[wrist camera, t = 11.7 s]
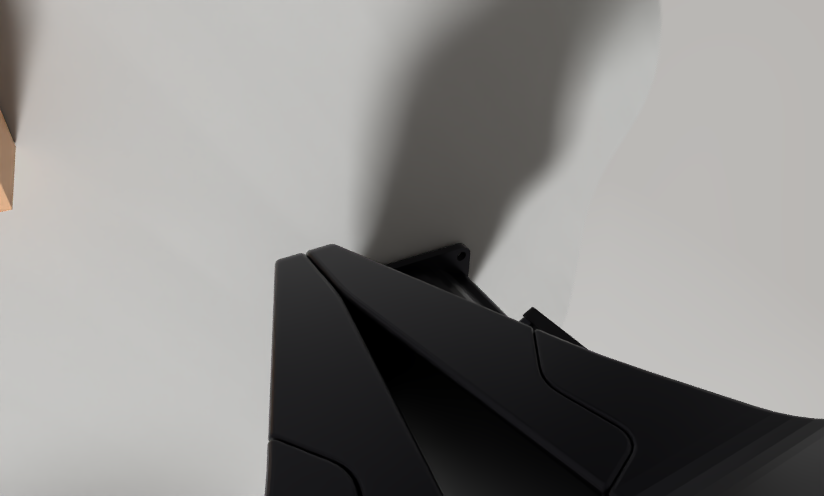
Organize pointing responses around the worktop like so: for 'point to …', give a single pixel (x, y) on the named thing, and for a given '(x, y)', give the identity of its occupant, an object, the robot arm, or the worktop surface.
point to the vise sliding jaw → (6, 166)
